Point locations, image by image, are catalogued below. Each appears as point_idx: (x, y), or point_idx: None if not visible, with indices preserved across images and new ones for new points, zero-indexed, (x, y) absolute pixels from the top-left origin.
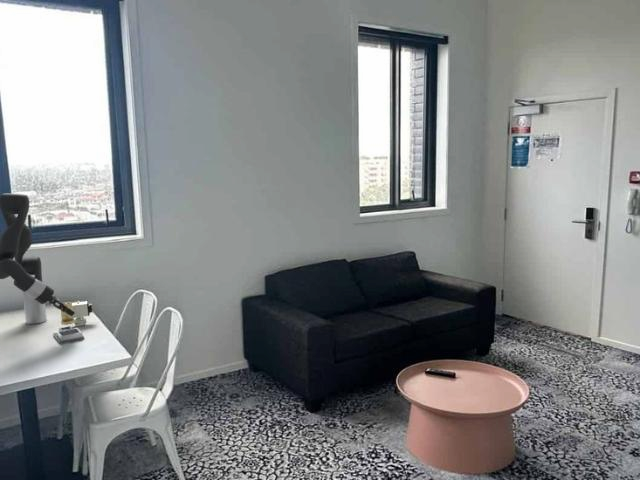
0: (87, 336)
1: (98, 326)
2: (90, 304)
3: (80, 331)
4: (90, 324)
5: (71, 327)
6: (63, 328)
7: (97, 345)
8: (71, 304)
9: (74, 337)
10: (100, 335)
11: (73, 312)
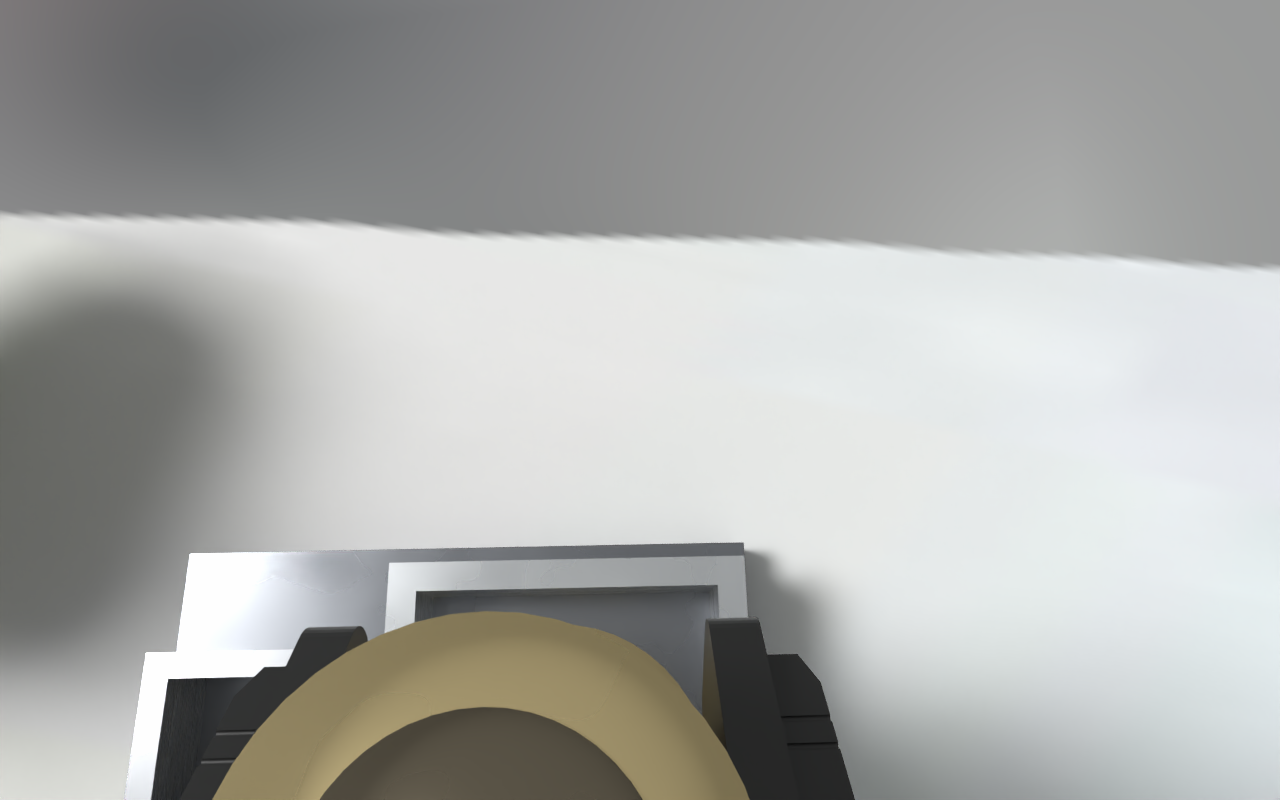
0: (624, 479)
1: (222, 241)
2: None
3: (668, 566)
4: (7, 306)
5: (273, 650)
6: (161, 786)
7: (1163, 461)
8: (654, 671)
9: None
10: (705, 322)
11: (757, 651)
